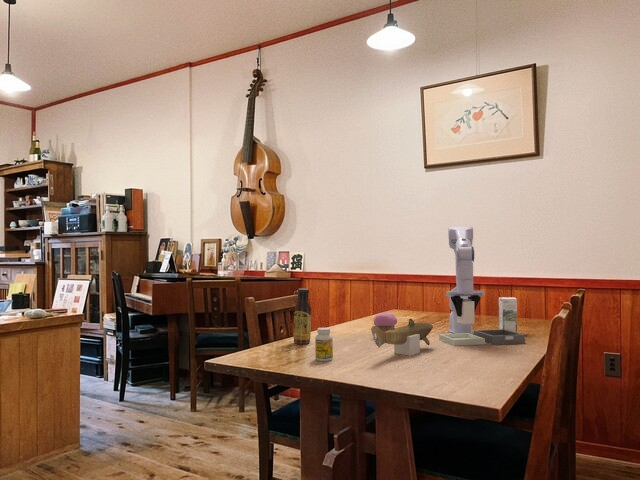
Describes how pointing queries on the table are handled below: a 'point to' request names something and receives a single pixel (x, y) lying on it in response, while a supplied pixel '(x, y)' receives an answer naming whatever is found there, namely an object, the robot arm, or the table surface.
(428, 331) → the wood carving
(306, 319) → the sauce bottle
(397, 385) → the table surface
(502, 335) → the gray rectangular frame
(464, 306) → the module block
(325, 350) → the supplement bottle
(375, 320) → the cupcake
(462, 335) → the tray
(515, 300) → the syrup box
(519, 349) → the table surface
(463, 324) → the robot arm
